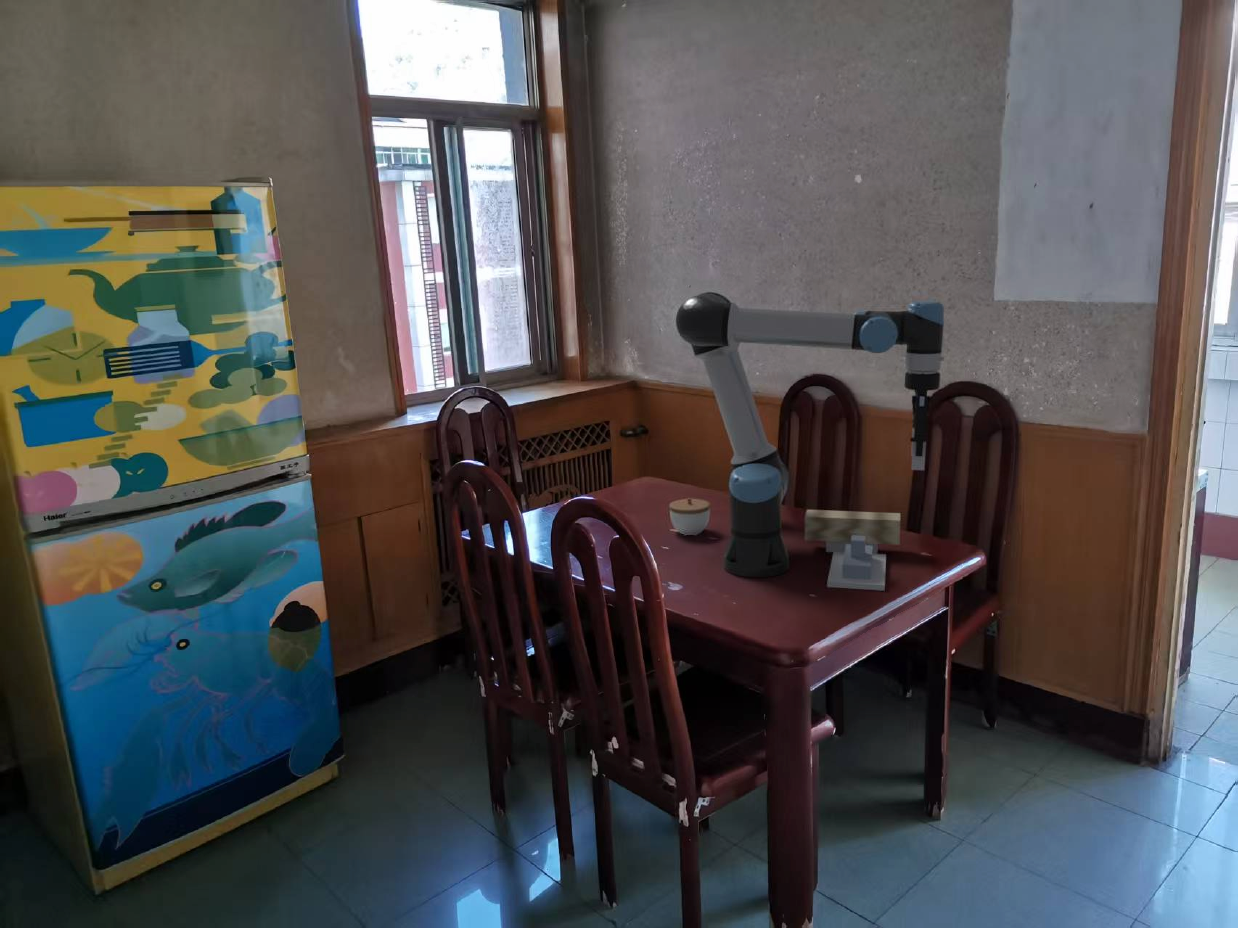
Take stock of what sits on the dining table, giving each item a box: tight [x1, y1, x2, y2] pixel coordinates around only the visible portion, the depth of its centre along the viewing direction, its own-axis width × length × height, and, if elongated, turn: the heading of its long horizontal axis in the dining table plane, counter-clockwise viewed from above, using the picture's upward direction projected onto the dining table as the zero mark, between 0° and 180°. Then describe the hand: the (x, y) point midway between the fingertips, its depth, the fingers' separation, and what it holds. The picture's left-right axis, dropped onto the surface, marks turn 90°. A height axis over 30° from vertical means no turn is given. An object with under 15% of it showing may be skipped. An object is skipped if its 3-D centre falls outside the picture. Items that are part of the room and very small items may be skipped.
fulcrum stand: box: [826, 535, 887, 592], centre depth 198 cm, size 12×20×8 cm, turn 163°
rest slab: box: [825, 541, 879, 554], centre depth 213 cm, size 12×4×3 cm, turn 73°
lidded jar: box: [668, 497, 711, 536], centre depth 233 cm, size 11×11×9 cm
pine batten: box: [804, 509, 901, 546], centre depth 212 cm, size 22×6×6 cm, turn 73°
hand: (917, 462), depth 203 cm, fingers open, 13 cm apart
